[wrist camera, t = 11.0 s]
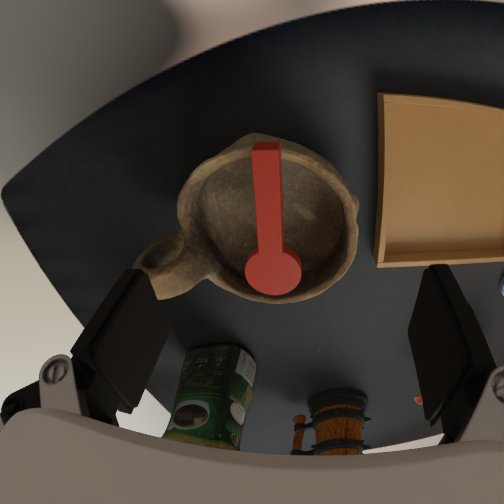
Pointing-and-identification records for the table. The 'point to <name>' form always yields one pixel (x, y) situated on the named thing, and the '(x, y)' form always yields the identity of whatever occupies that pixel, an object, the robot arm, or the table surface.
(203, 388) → the coffee jar
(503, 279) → the blue paddle
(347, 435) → the mug
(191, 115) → the table surface
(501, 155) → the tray
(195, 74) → the table surface
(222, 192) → the bowl
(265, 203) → the red spoon
